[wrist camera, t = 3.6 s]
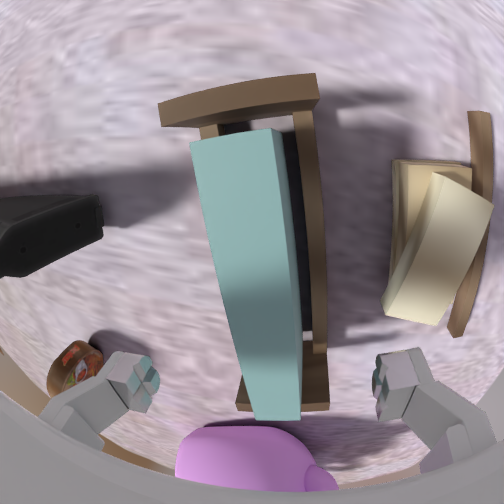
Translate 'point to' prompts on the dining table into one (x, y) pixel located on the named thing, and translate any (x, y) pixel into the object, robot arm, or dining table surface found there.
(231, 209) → the board
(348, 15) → the dining table surface
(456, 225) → the offcut top
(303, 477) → the teapot
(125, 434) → the dining table surface
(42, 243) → the magazine
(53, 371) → the tin
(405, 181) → the offcut middle
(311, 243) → the rack
